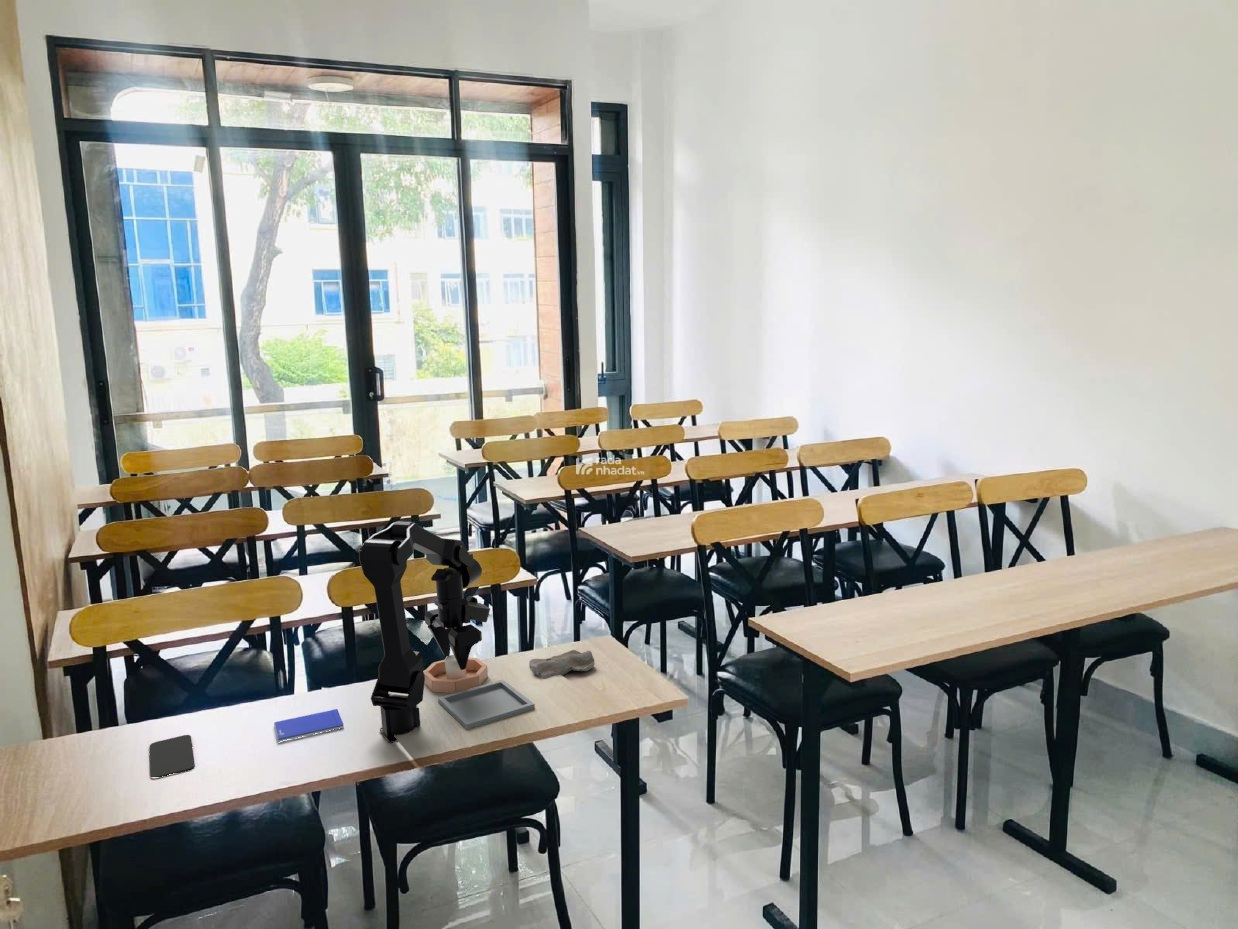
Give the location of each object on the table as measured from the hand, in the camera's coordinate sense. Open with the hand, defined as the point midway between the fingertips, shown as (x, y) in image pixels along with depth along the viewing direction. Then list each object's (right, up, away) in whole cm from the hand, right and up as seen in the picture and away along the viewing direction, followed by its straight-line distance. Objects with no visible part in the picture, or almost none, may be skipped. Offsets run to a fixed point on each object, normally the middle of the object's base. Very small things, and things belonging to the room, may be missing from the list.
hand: (454, 662), depth 194 cm
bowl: (0, -5, +1) cm, 5 cm away
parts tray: (+9, -7, -12) cm, 17 cm away
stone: (+23, -4, +6) cm, 24 cm away
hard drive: (-26, -10, -17) cm, 33 cm away
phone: (-49, -12, -27) cm, 57 cm away
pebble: (0, -4, +1) cm, 4 cm away
